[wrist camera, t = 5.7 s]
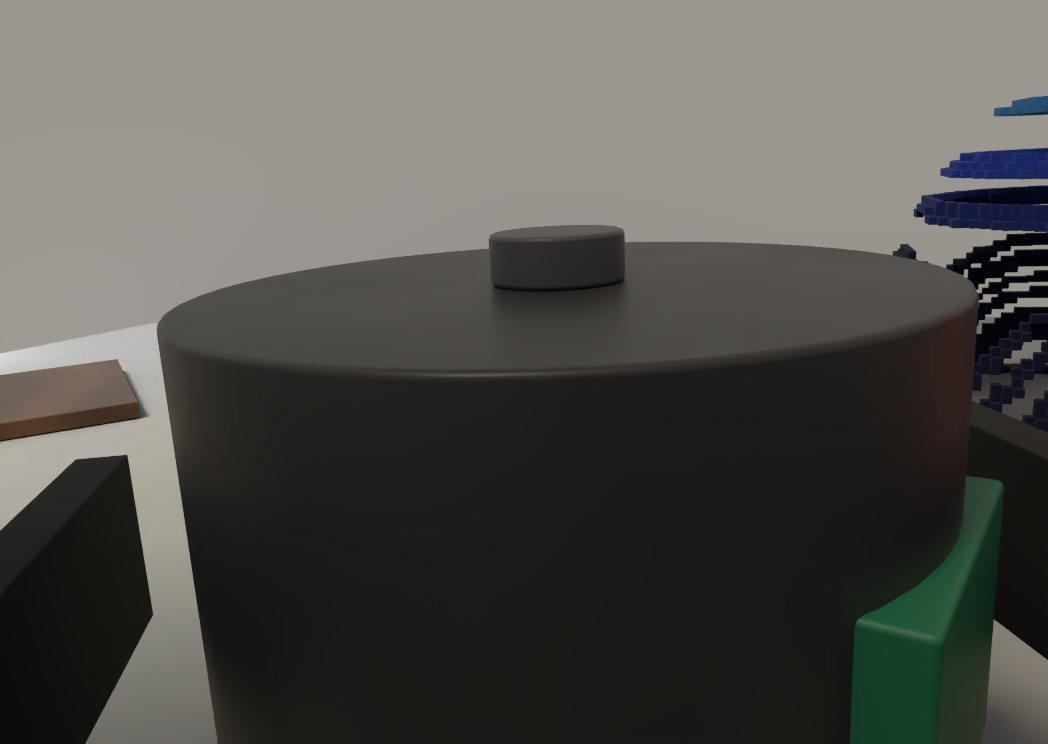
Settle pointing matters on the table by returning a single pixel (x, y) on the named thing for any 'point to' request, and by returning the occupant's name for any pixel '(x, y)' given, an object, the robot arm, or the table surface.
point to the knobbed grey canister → (588, 496)
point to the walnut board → (64, 399)
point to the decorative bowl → (1002, 257)
